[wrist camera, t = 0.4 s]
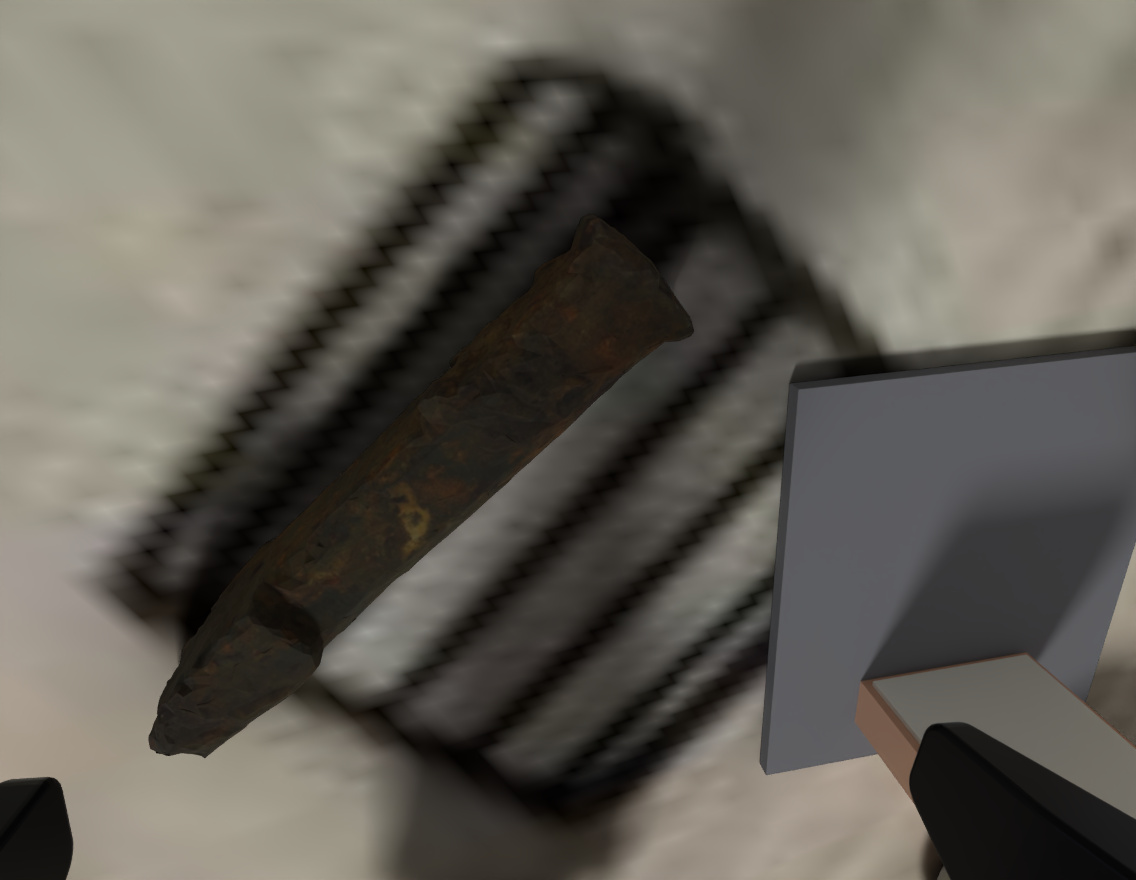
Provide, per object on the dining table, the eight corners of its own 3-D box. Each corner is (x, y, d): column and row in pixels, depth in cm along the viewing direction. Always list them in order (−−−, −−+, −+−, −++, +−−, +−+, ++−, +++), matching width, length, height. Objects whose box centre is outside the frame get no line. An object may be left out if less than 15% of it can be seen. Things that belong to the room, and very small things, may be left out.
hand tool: (585, 194, 19) (627, 209, 15) (670, 305, 21) (730, 347, 16) (109, 619, 22) (29, 736, 17) (217, 689, 23) (168, 812, 19)
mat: (1069, 705, 30) (1081, 715, 30) (759, 763, 28) (766, 775, 28) (1179, 341, 24) (1197, 345, 23) (789, 383, 22) (798, 389, 21)
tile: (1016, 691, 28) (1215, 881, 21) (854, 721, 27) (1005, 930, 20) (1027, 648, 28) (1240, 829, 20) (861, 676, 27) (1021, 878, 19)
